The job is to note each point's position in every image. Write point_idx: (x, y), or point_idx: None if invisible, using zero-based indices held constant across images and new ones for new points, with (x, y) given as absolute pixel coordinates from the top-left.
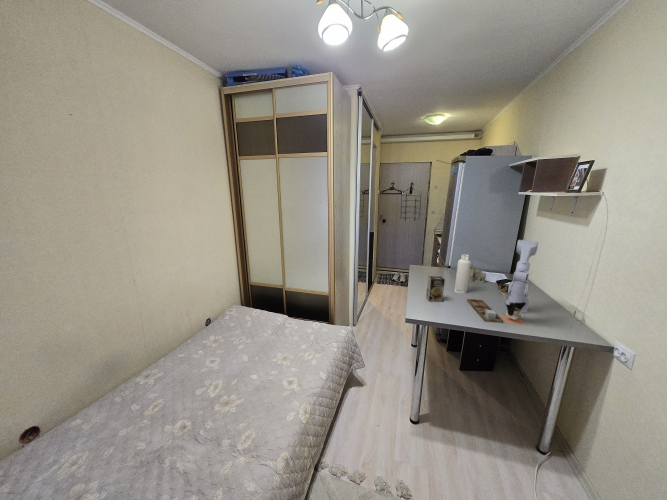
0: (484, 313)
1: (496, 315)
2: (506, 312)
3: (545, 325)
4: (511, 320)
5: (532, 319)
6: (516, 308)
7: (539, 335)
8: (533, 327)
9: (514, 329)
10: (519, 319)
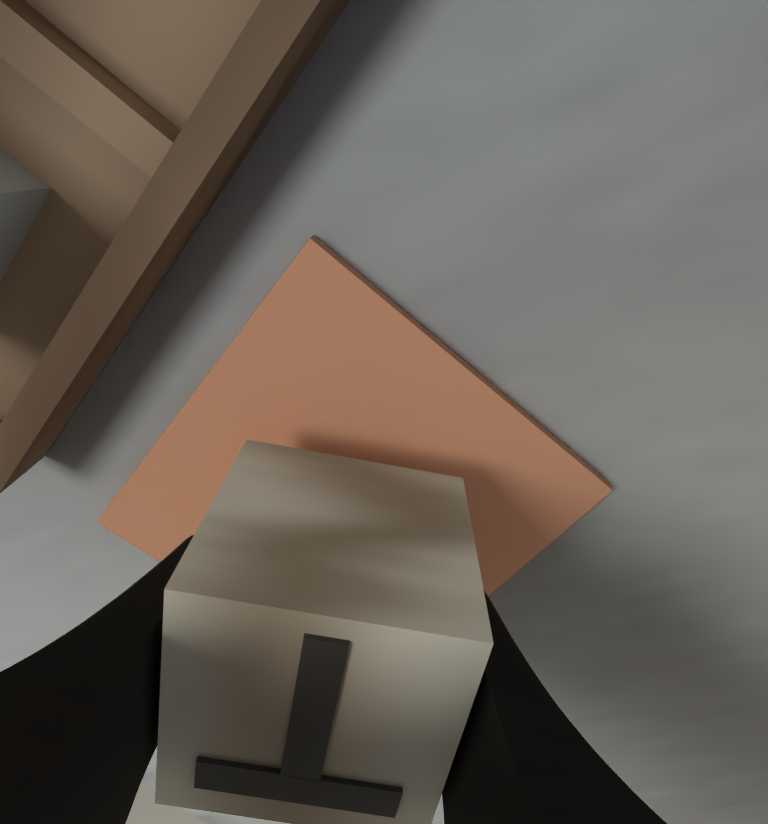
0: None
1: (87, 285)
2: (217, 495)
3: (641, 790)
4: None
5: (729, 652)
6: (416, 743)
7: (239, 820)
8: None
9: (63, 627)
10: (483, 570)
